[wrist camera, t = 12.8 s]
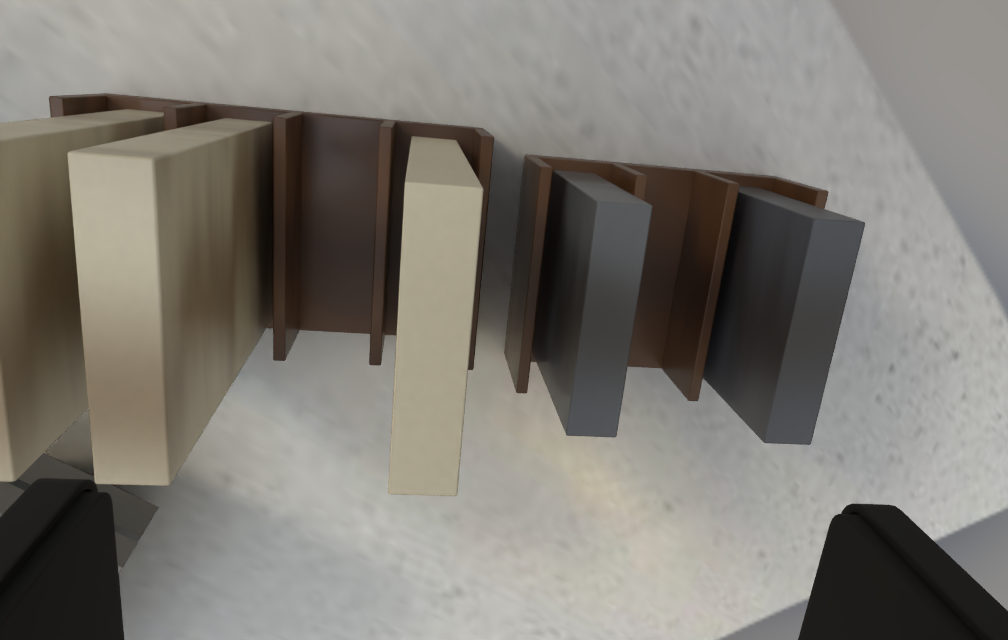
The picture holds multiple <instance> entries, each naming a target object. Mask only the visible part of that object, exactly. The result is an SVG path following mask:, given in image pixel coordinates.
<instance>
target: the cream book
mask: <svg viewBox="0 0 1008 640" xmlns="http://www.w3.org/2000/svg"><path fill="white" fill-rule="evenodd" d="M482 201H483V187H482V185H481V184H480V182H479V180H478V178H477V177H476V175H475V173H474V171H473V169H472V168H471V166H470V164H469V162H468V161H467V159H466V157H465V155H464V153H463V152H462V150H461V148H460V146H459V144H458V143H457V141H456V140H449V139H438V138H427V137H415V136H412V138H411V145H410V151H409V158H408V165H407V171H406V178H405V188H404V207H403V225H402V244H401V263H400V281H399V300H398V319H397V337H396V356H395V375H394V393H393V412H392V430H391V449H390V468H389V486H388V493H389V494H400V495H440V496H457V491H458V479H459V468H460V456H461V444H462V433H463V421H464V410H465V398H466V386H467V375H468V363H469V352H470V340H471V328H472V317H473V305H474V294H475V282H476V270H477V259H478V247H479V236H480V224H481V212H482Z"/></svg>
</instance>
